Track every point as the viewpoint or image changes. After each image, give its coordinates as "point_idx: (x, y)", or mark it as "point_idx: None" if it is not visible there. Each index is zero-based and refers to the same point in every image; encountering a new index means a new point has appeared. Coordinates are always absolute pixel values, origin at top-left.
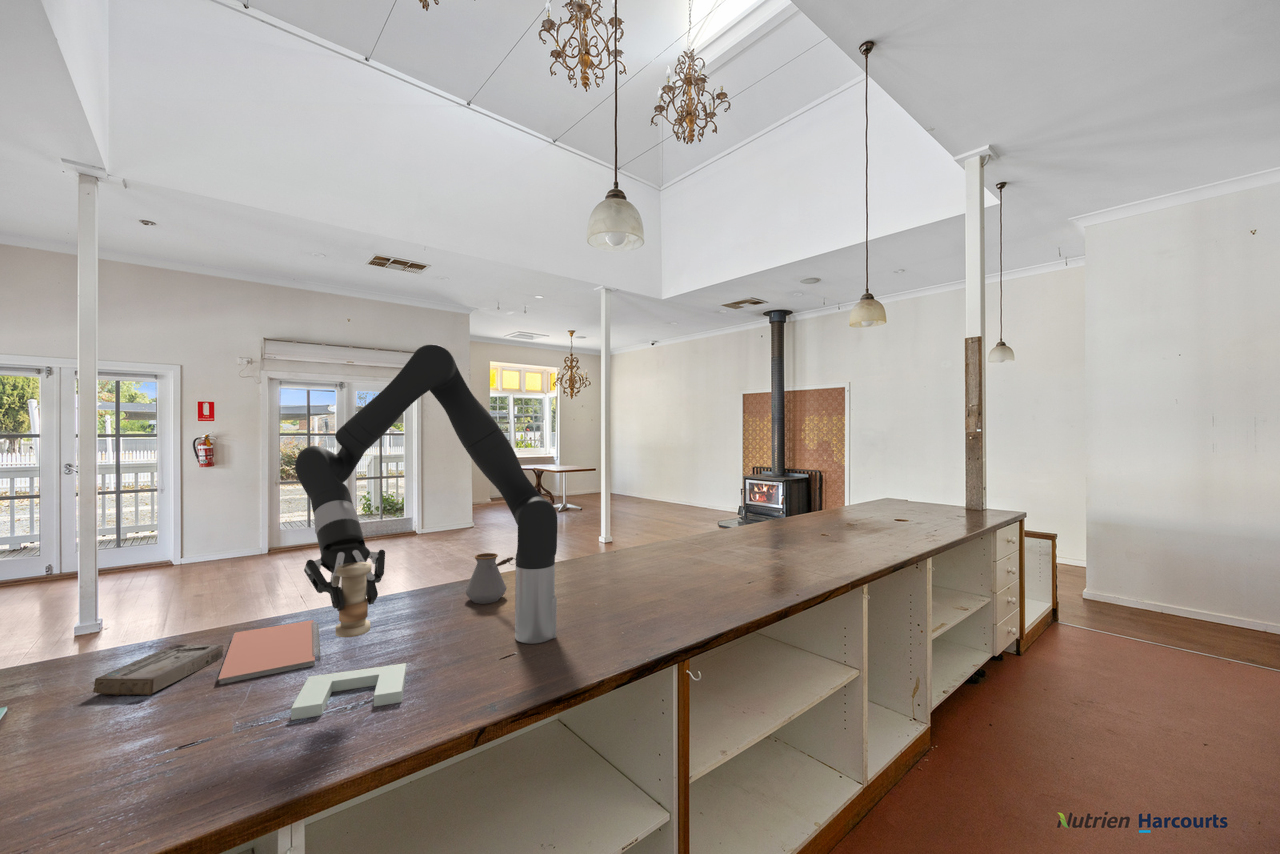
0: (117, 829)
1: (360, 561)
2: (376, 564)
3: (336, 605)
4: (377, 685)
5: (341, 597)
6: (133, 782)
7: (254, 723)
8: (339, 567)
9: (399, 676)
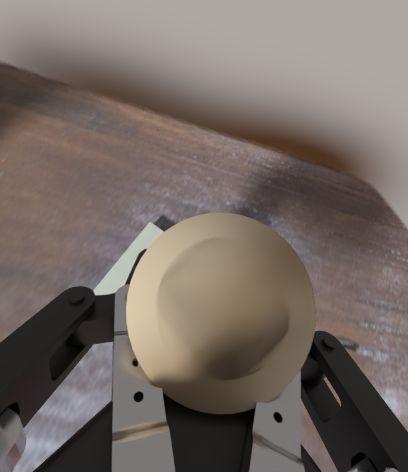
0: (400, 237)
1: (144, 387)
2: (29, 393)
3: None
4: None
5: None
6: (391, 307)
7: None
8: (297, 341)
9: (121, 267)
